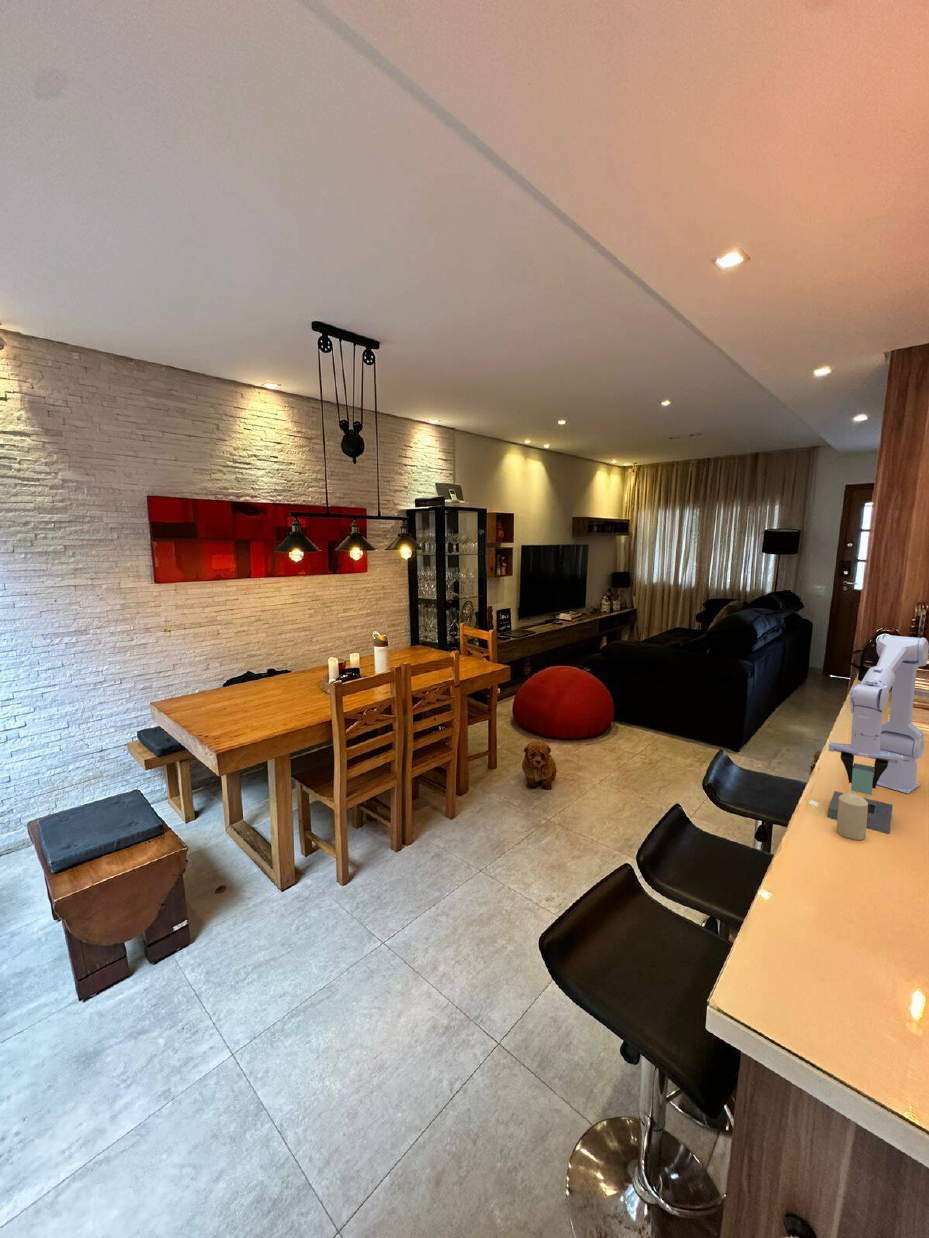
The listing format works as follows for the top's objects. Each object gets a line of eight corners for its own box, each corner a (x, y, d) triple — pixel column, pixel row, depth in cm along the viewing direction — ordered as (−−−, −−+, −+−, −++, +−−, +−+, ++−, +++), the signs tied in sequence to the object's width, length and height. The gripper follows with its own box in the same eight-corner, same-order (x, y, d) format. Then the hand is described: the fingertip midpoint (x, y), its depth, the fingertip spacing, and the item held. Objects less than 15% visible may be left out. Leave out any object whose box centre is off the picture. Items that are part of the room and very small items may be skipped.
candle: (870, 841, 116) (873, 800, 115) (844, 839, 117) (846, 799, 116) (857, 828, 122) (860, 789, 120) (831, 826, 123) (834, 788, 122)
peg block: (852, 784, 130) (854, 762, 129) (872, 789, 127) (874, 766, 126) (851, 790, 127) (852, 767, 126) (871, 795, 124) (873, 772, 123)
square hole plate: (833, 799, 136) (834, 790, 136) (891, 813, 128) (892, 804, 128) (827, 817, 127) (828, 807, 127) (889, 833, 119) (890, 823, 119)
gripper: (828, 730, 127) (824, 781, 129) (904, 743, 117) (899, 798, 119) (831, 723, 132) (828, 772, 134) (904, 735, 122) (900, 788, 124)
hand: (862, 784), depth 127 cm, fingers closed on peg block, 4 cm apart
